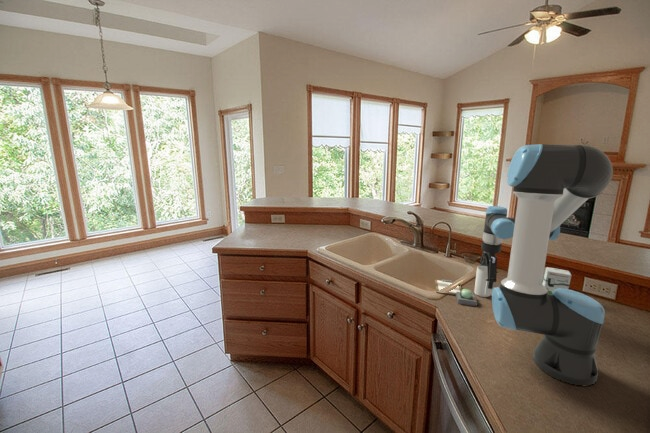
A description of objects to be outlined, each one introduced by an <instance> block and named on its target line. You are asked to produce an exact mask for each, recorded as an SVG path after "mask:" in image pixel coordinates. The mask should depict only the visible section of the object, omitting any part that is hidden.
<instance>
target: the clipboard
mask: <svg viewBox="0 0 650 433" xmlns="http://www.w3.org/2000/svg"><path fill="white" fill-rule="evenodd" d="M454 282H455V281H454V280H451V279H434V284H435V291H440V290H441V289H443V288H445V287H447V286H449V285H450V284H452V283H454ZM462 290H463V289H462V286H461V285H460V286H457V287H456V288H455V289H453V290H451V291H449V292H448V293H447V294H446V295H448V296H455V297H456V291H457V292H462Z"/></svg>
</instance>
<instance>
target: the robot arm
mask: <svg viewBox="0 0 650 433" xmlns="http://www.w3.org/2000/svg"><path fill="white" fill-rule="evenodd" d="M507 171H508V172H507V180H506V181H507V185H508V186H510V187H512V193H513V194H514V195H515V196H516V198H517V205H516V211H515V217H508V209H507V207H504V206H501V205H499V206H498V205H490V206H488V207H487V208H486V212H485V219H484V228H483V232H482V238H481V240H482V241H481V247H480V248H481V251H482V254H481V258H480V260H479V266H487V271H488V279H486V281H487V282H486V289H485V295H490V296H491V304H492V305H491V306H492V311H493V315H494V319H495V322H496V323H497V324H498V325H499V326H500V328H501V327H502V328H505V329H509V330H513V331H520V332H525V333H533V334H538V335H544V336H543V337H542V338H541V340H540V341H539V342H538V343H537V345H536V346H535V347H534V349H533V354H532V360H533V361H534V363H535V365H536V366H537V367H538V368H539V369H540V370H541V371H543V372H544V373H545V374H547V375H549V376H550V377H552V378H554V379H556V380H558V381H560V380H561V381H560V382H563V381H564V382H563V383H565V382H567V383H566V384H568V383H571V384H570V385H572V384H575V385H574V386H576V385H591V384H594V383H595V382H596V383H597V380H598V376H599V370H598V366H597V365H598V364H597V359H596V349H597V346H598V342H599V338H600V334H601V331H602V328H603V327H602V326H603V325H604V323H605V314H606V312H605V311H606V310H605V308H604V306H603V305H602V304H601V302H599V301H598V300H596V299H594V298H593V297H590V296H588V295H586V294H584V293H582V292H579V291H575V290H573V289H569V288H568V289H564V288H559V289H555V290H554V291H553V295H551V294H547V292H548V291H547V289H546V288H545V287H544V286H543V284H542V283H543V279H544V274H545V269H546V267H545V266H546V260H547V255H548V248H549V241H555V240H557V239H558V238H559V235H561V234H560V233H561V225H562V224H563V223H564V222H565V221H566V220H567V219H569V217H571V215H573V214H574V213H575V212H576V211H577V210H578V209H579V208H580V207H582V205H584V204H585V203H586V201H588V200H589V199H592V198H596V197H598V196H599V195H600V194H601V193H603V191H605V190H606V189H607V188H608V186H609V185H610V183H611V180H612V178H613V172H614V168H613V163H612V161H611V160H610V158H609V157H608V155H607V154H606V153H605V152H603V151H602V150H601V149H598V148H597V147H594V146H591V145H586V144H577V145H576V144H575V145H573V144H548V143H547V144H542V143H541V144H539V143H538V144H537V143H536V144H525V145H522V146H520V147H519V148H518V149H517V150H516V151H515V152H514V155H513V156H512V158H511V161H510V164H509V166H508V170H507ZM511 238H512V241H511V249H510V255H509V256H510V257H509V263H508V270H507V277H505V278H503V279H502V280H500V285H499V286H495V283H497V275H498V274H497V268H498V258H497V257H496V255H497V254H500V253H501V252H502V246H503V244H502V243H503V240H508V239H511ZM596 383H595V384H596ZM595 384H594V385H595ZM591 386H592V385H591Z"/></svg>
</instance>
